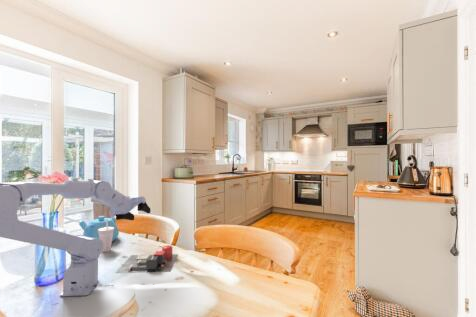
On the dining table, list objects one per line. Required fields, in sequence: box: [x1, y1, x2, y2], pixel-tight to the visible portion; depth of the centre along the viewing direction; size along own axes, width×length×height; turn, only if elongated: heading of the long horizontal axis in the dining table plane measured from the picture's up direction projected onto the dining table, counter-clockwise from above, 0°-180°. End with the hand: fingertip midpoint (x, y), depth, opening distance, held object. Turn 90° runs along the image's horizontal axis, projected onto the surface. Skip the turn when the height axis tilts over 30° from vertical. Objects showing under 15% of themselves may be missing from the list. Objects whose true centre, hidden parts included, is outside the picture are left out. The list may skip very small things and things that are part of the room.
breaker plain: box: [146, 256, 158, 269], centre depth 83 cm, size 3×3×3 cm
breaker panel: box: [114, 253, 179, 274], centre depth 87 cm, size 15×19×2 cm
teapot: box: [78, 215, 120, 242], centre depth 113 cm, size 20×20×13 cm
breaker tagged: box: [153, 250, 165, 264], centre depth 87 cm, size 3×3×4 cm
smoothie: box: [98, 219, 114, 253], centre depth 102 cm, size 6×6×14 cm
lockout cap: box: [161, 244, 173, 259], centre depth 93 cm, size 4×4×4 cm
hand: (141, 214), depth 94 cm, fingers open, 7 cm apart
